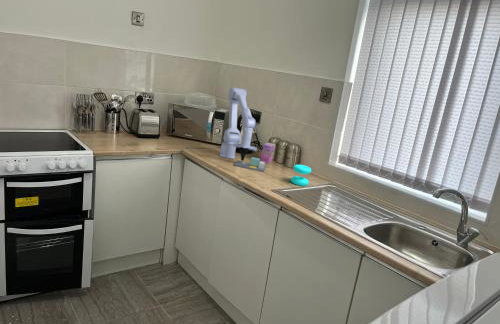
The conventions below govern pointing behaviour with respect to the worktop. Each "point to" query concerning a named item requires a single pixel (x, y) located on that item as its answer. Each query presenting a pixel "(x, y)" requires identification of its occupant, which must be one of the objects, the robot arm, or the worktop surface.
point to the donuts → (298, 179)
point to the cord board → (252, 167)
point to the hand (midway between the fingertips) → (242, 160)
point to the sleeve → (254, 161)
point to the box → (267, 152)
